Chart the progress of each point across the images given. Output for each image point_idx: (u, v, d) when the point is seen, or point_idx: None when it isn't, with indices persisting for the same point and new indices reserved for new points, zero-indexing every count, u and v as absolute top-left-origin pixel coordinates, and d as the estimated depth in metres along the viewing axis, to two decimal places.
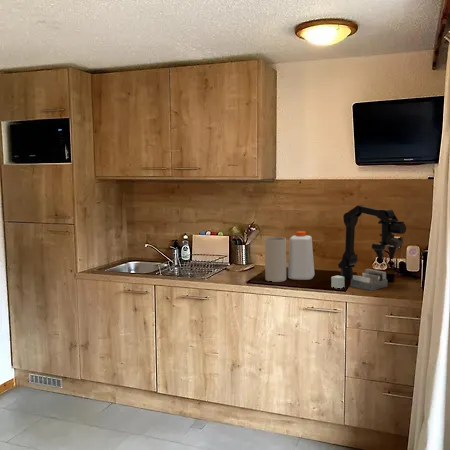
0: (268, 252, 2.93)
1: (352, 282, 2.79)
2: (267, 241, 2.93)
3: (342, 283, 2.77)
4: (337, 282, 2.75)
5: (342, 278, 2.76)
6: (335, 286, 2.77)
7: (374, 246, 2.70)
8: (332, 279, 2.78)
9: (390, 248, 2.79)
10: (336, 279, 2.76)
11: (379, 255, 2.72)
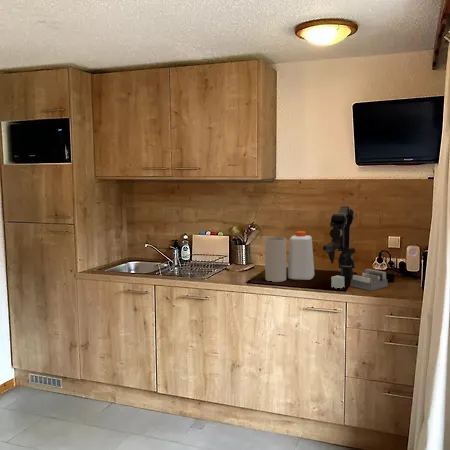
0: (268, 252, 2.93)
1: (352, 282, 2.79)
2: (267, 241, 2.93)
3: (342, 283, 2.77)
4: (337, 282, 2.75)
5: (342, 278, 2.76)
6: (335, 286, 2.77)
7: None
8: (332, 279, 2.78)
9: None
10: (336, 279, 2.76)
11: None
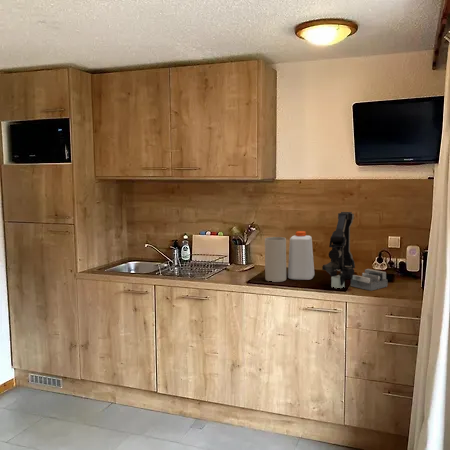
0: (268, 252, 2.93)
1: (352, 282, 2.79)
2: (267, 241, 2.93)
3: None
4: (337, 282, 2.75)
5: None
6: (335, 286, 2.77)
7: None
8: (332, 279, 2.78)
9: None
10: (336, 279, 2.76)
11: None
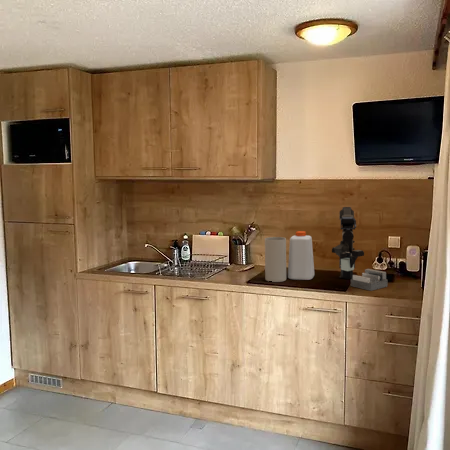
0: (268, 252, 2.93)
1: (352, 282, 2.79)
2: (267, 241, 2.93)
3: None
4: (346, 264, 2.74)
5: None
6: (344, 268, 2.75)
7: None
8: (341, 261, 2.76)
9: None
10: (345, 261, 2.74)
11: None
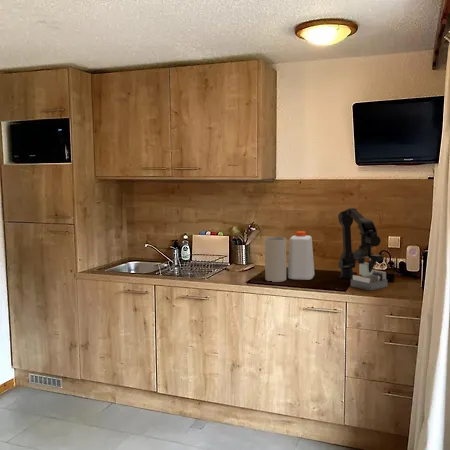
0: (268, 252, 2.93)
1: (352, 282, 2.79)
2: (267, 241, 2.93)
3: None
4: (365, 269, 2.73)
5: None
6: (363, 273, 2.74)
7: None
8: (360, 266, 2.76)
9: None
10: (364, 266, 2.73)
11: None
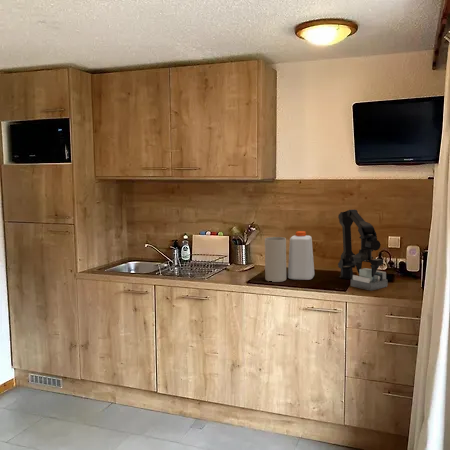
0: (268, 252, 2.93)
1: (352, 282, 2.79)
2: (267, 241, 2.93)
3: (370, 276, 2.75)
4: (365, 275, 2.73)
5: (370, 271, 2.75)
6: None
7: None
8: (360, 272, 2.76)
9: None
10: (364, 272, 2.74)
11: None
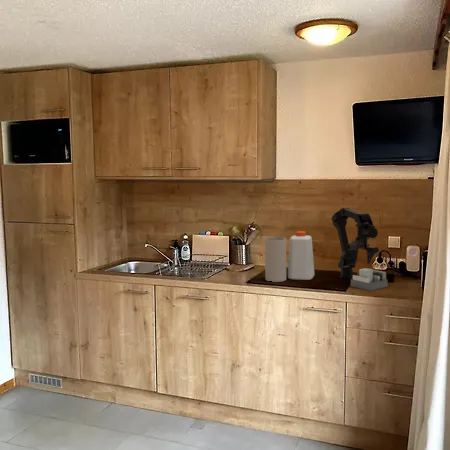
0: (268, 252, 2.93)
1: (352, 282, 2.79)
2: (267, 241, 2.93)
3: (370, 276, 2.75)
4: (365, 275, 2.73)
5: (370, 271, 2.75)
6: None
7: None
8: (360, 272, 2.76)
9: None
10: (364, 272, 2.74)
11: None
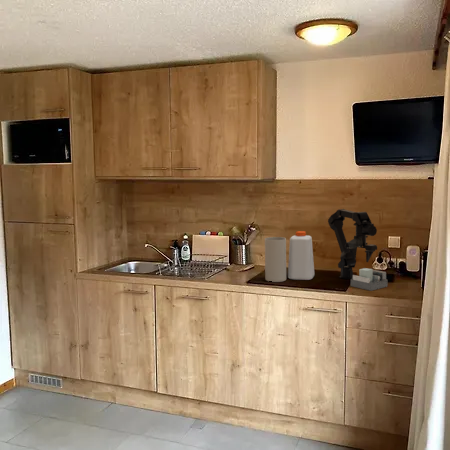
0: (268, 252, 2.93)
1: (352, 282, 2.79)
2: (267, 241, 2.93)
3: (370, 276, 2.75)
4: (365, 275, 2.73)
5: (370, 271, 2.75)
6: None
7: None
8: (360, 272, 2.76)
9: None
10: (364, 272, 2.74)
11: None
